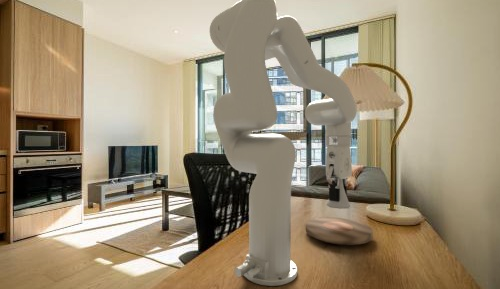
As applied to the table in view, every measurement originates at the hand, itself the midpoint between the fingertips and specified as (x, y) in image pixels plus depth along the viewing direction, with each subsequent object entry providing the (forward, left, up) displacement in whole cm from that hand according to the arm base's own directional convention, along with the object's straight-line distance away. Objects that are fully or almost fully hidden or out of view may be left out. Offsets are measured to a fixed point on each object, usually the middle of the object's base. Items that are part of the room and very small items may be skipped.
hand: (338, 198), depth 80 cm
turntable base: (0, 0, -12) cm, 12 cm away
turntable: (0, 0, -11) cm, 11 cm away
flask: (0, 0, -3) cm, 3 cm away
